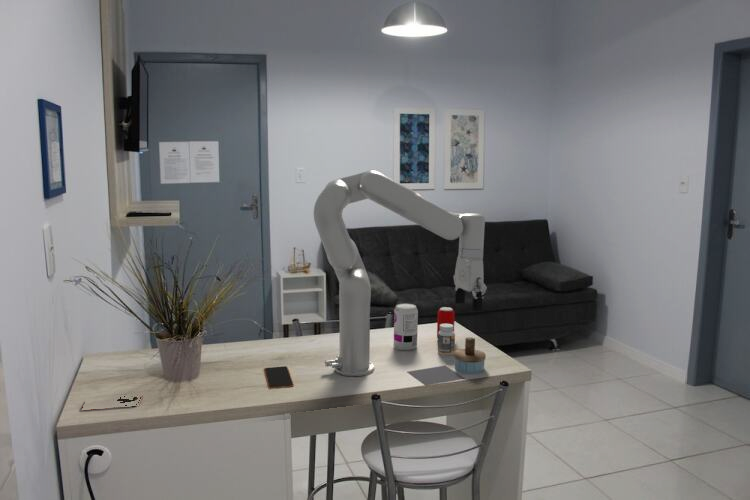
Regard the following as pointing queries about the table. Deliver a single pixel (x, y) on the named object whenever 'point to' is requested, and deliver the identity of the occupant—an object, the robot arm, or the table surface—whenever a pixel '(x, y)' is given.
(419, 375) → the mat
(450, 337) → the pill bottle
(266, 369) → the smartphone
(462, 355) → the lid
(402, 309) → the supplement can
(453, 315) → the beverage can
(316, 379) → the table surface
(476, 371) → the bowl
